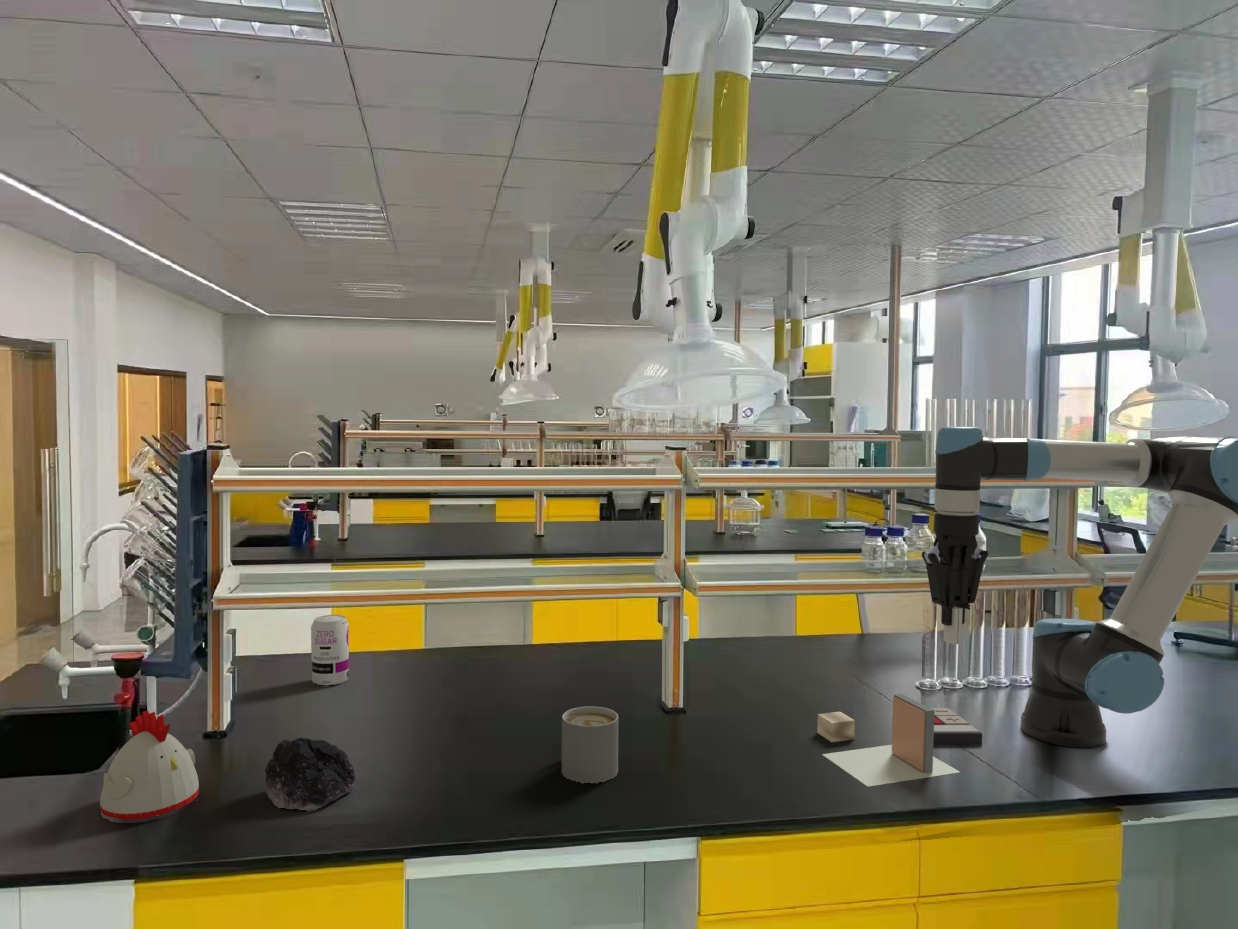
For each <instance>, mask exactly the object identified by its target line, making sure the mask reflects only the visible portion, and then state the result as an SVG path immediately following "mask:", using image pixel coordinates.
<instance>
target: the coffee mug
mask: <svg viewBox="0 0 1238 929" xmlns="http://www.w3.org/2000/svg"><path fill="white" fill-rule="evenodd" d="M617 773H619V713H617V712H616V711H615V710H612V709H611V708H608V707H603V706H602V707H601V706H588V705H586V706H579V707H574V708H570V709H568V710H566V711H565V712H563V714H562V716H561V775H562V774H563V775H562V776H563V777H564V778H565V777H566V778H567V780H568V779H570V780H573V781H576V782H575V783H577V782H580V783H579V784H584V783H591V785H592V784H593V783H595V784H600V783H599V782H602V783H605V781H606V782H608V781H607V780H609V781H610V779H611V780H613V779H614V778H616V777H617V775H618V774H617ZM566 778H565V779H566ZM570 780H569V781H570ZM573 781H572V782H573Z"/></svg>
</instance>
